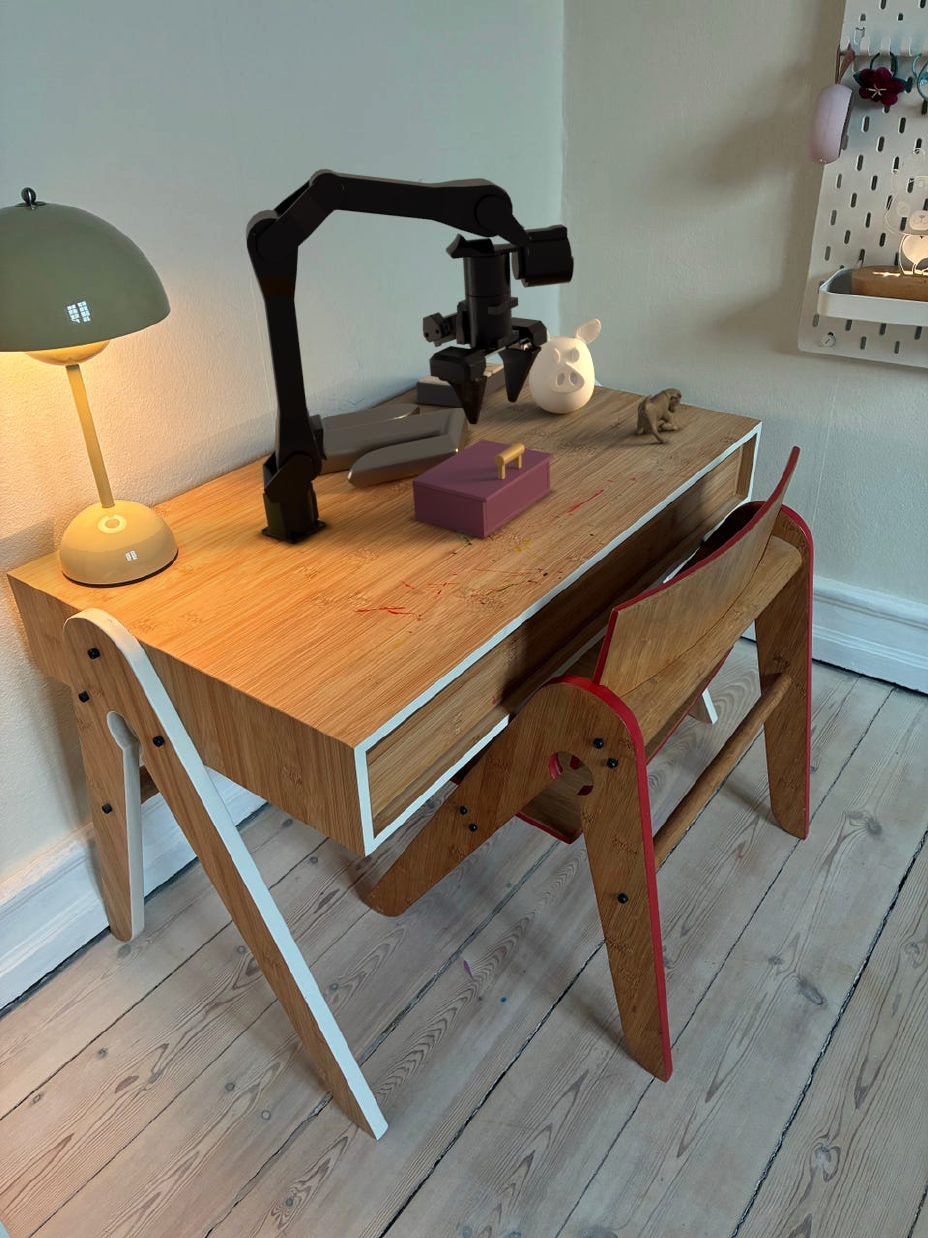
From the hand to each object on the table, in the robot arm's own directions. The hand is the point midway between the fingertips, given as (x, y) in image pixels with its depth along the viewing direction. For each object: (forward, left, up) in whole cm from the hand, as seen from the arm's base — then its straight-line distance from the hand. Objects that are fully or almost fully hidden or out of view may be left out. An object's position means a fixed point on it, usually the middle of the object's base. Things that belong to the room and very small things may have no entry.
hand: (493, 412), depth 128 cm
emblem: (+6, +25, -13) cm, 29 cm away
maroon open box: (-2, +1, -13) cm, 13 cm away
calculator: (+35, +31, -13) cm, 49 cm away
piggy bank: (+35, +10, -13) cm, 39 cm away
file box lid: (-2, +1, -8) cm, 8 cm away
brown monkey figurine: (+34, -8, -13) cm, 38 cm away
